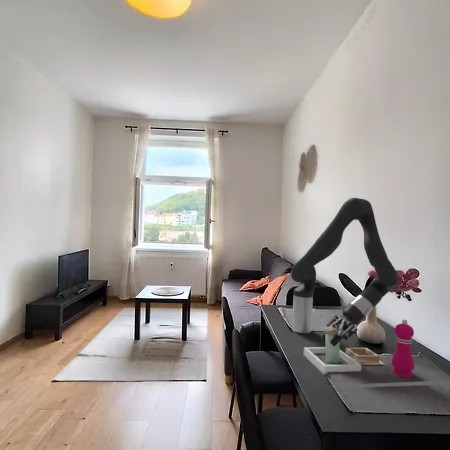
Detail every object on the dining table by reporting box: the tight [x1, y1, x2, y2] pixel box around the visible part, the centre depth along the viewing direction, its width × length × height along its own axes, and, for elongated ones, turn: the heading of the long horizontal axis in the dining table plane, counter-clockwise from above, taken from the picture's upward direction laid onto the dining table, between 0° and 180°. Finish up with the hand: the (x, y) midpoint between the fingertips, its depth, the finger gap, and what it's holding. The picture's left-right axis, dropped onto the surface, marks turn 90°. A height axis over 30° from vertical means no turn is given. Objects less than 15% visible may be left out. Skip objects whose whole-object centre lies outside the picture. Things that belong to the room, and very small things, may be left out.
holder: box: [344, 347, 385, 366], centre depth 134 cm, size 12×12×4 cm
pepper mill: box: [390, 319, 415, 378], centre depth 122 cm, size 7×7×20 cm
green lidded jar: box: [323, 326, 341, 364], centre depth 130 cm, size 6×6×12 cm
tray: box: [303, 346, 362, 376], centre depth 130 cm, size 18×14×3 cm
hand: (327, 341), depth 130 cm, fingers open, 6 cm apart
